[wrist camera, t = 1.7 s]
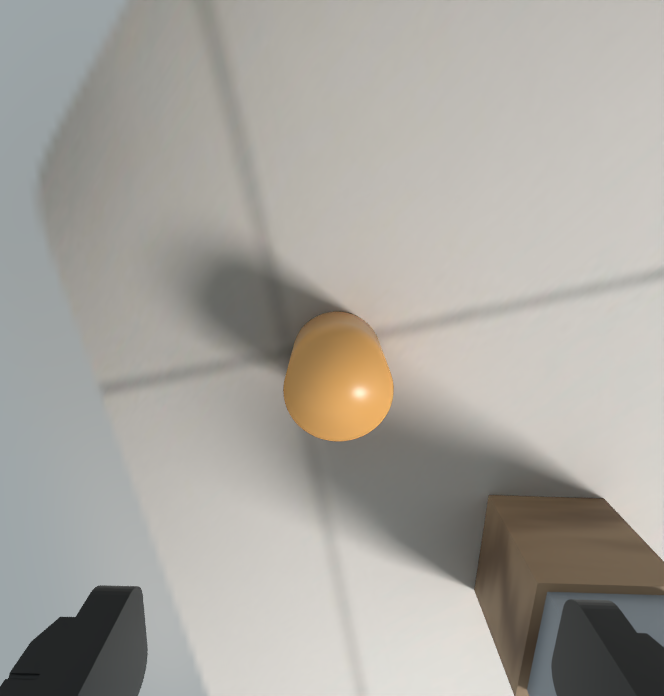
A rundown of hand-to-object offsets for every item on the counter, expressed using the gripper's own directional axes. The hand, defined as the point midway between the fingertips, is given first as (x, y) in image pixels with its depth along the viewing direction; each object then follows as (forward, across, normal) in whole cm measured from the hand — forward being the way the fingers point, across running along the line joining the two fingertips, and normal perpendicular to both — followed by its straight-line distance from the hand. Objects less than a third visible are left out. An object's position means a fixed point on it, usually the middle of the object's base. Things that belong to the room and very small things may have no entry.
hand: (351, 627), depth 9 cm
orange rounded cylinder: (+18, 0, 0) cm, 18 cm away
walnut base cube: (+18, -13, +12) cm, 25 cm away
